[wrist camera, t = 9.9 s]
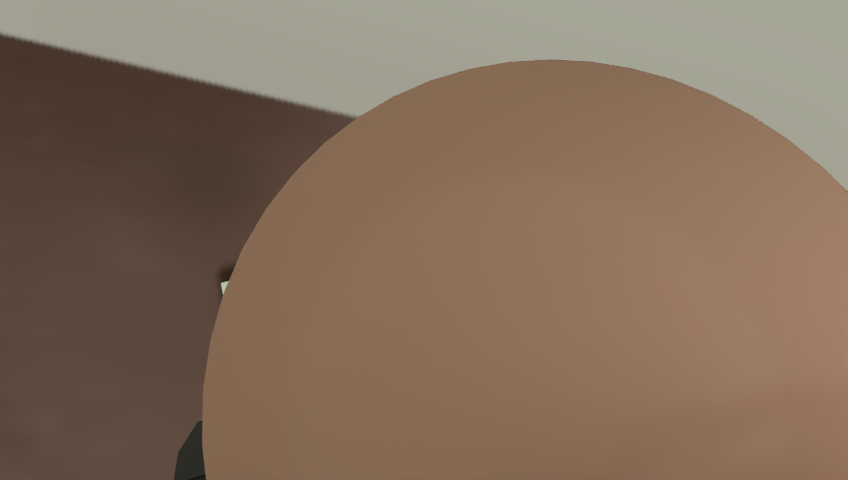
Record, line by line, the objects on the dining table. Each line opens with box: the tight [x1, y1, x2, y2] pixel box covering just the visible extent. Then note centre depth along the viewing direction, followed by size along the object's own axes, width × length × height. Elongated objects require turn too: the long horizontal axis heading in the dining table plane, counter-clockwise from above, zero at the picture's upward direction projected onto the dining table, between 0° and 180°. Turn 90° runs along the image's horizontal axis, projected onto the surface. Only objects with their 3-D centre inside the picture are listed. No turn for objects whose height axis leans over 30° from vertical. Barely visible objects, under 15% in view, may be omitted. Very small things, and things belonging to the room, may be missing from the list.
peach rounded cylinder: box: [202, 60, 848, 480], centre depth 10 cm, size 5×5×12 cm
